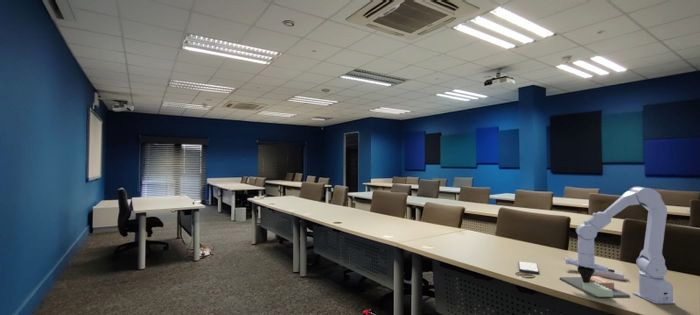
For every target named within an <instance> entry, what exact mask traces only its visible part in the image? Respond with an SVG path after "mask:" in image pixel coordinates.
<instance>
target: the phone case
mask: <svg viewBox="0 0 700 315" xmlns="http://www.w3.org/2000/svg"><path fill="white" fill-rule="evenodd" d="M518 271H519V272H521V273H524V274H525V273H527V274H533V275H539V274H540V269H539V266H538V264H537V263H536V262H528V261H527V262H526V261H518Z"/></svg>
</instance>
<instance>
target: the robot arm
mask: <svg viewBox="0 0 700 315" xmlns="http://www.w3.org/2000/svg"><path fill="white" fill-rule="evenodd" d="M637 205H641V206H642V207H643V208H645V210H647V211H648V212H647V220H646V227H645V229H646V230H645V234H644V235H645V236H644V244H643V248H642V249H641V251H640V253H639V256H638V257H637V258H636V262H635V264H636V266H637V267H638V268H639V271H638V291H639V292H636V291H635V292H632V294H633V295H635V296H637V297H640V298H643V299H644V300H647V301H648V302H652V303H653V304H676V302H675V301H674V286H673V284H672V283H671V282H670V281H669V280H667V279H665V276H666V275H667V273H668V268H667V266H666V259H665V258H664V256H663V248H664V246H663V245H664V240H665V230H666V222H667V217H668V207H667V205H666V204H665V202H664V200H663V199H662V195H661V193H660V192H658V191H657V190H655V189H653V188H651V187H642V186H633V187H631V188H629V189H628V190H626V192H624V193H623V194H622V195H621V196H619V197H618V198H617V199H616V200H615V201H614V202H613V203H611V205H609V206H608V207H607V208H606V209H605V210H604V211H597V212H593V213H591V214H592V216H591V217H590V218H588V219H587V220H584V221H583V223H581V224H578V226H576V228H575V232H576V234H577V260H576V259H572V258H571V259H572V260H571V259H566V260H565V265H571V266H575V267H576V266H578V267H576V268H577V271H578V273H579V275H580V277H582V280H583V283H589V282H590V279H591V276H593V275H592V274H593V273H594V271H595V270H598V271H602V272H605V273H608V269H609V266H604V265H601V264H597V263H595V262H596V261H595V238H596V237H597V235H598V233H599V232H601V230H603V229H604V228H605V227H606V226H608V225H609V224H611V223H612V218H613V217H614V216H616V215H617V214H619V213H621V211H623V210H624V209H626V208H627V207H629V206H637Z"/></svg>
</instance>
